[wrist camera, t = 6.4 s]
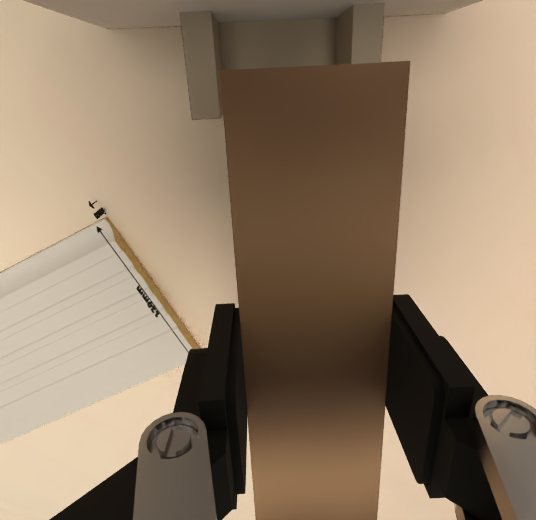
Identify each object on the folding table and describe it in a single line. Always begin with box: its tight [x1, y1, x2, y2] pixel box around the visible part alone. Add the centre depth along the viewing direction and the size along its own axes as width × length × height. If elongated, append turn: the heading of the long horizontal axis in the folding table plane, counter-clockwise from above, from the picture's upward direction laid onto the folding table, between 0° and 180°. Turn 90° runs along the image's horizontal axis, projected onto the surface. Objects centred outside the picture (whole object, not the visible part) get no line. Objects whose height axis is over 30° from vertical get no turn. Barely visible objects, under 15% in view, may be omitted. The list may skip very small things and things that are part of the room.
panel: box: [24, 0, 482, 120], centre depth 13 cm, size 5×16×14 cm, turn 93°
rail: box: [220, 61, 410, 520], centre depth 14 cm, size 16×4×6 cm, turn 2°
